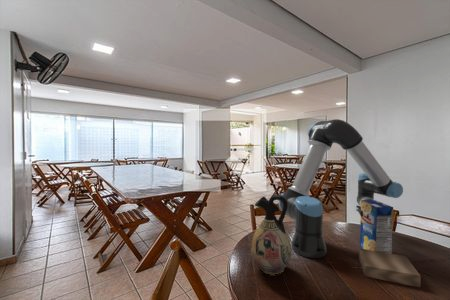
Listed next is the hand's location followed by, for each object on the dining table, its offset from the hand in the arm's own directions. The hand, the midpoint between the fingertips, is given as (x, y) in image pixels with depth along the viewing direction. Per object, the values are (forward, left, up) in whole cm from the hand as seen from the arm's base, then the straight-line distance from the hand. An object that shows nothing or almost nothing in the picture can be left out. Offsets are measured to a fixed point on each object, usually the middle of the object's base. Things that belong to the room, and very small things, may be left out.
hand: (380, 220), depth 91 cm
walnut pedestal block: (0, -10, -16) cm, 19 cm away
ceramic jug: (-40, -26, -16) cm, 51 cm away
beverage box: (-1, +5, -16) cm, 17 cm away
